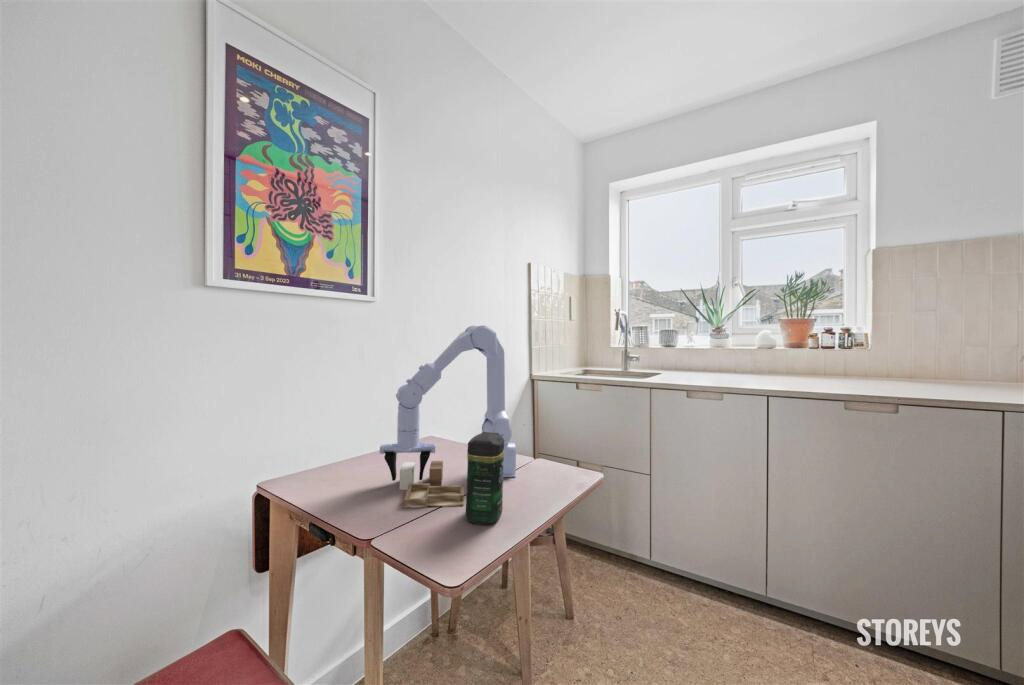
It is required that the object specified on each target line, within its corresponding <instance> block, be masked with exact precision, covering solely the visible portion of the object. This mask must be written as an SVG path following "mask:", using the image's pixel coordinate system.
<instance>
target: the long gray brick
mask: <svg viewBox="0 0 1024 685" xmlns="http://www.w3.org/2000/svg"><path fill="white" fill-rule="evenodd" d="M415 481H416V461H415V462H414V461H409V462H408V461H404V462H402V465H401V468H400V469H399V488H398V489H399V490H401V491H402V490H406V491H407V489H408V486H409V484H415Z"/></svg>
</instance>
